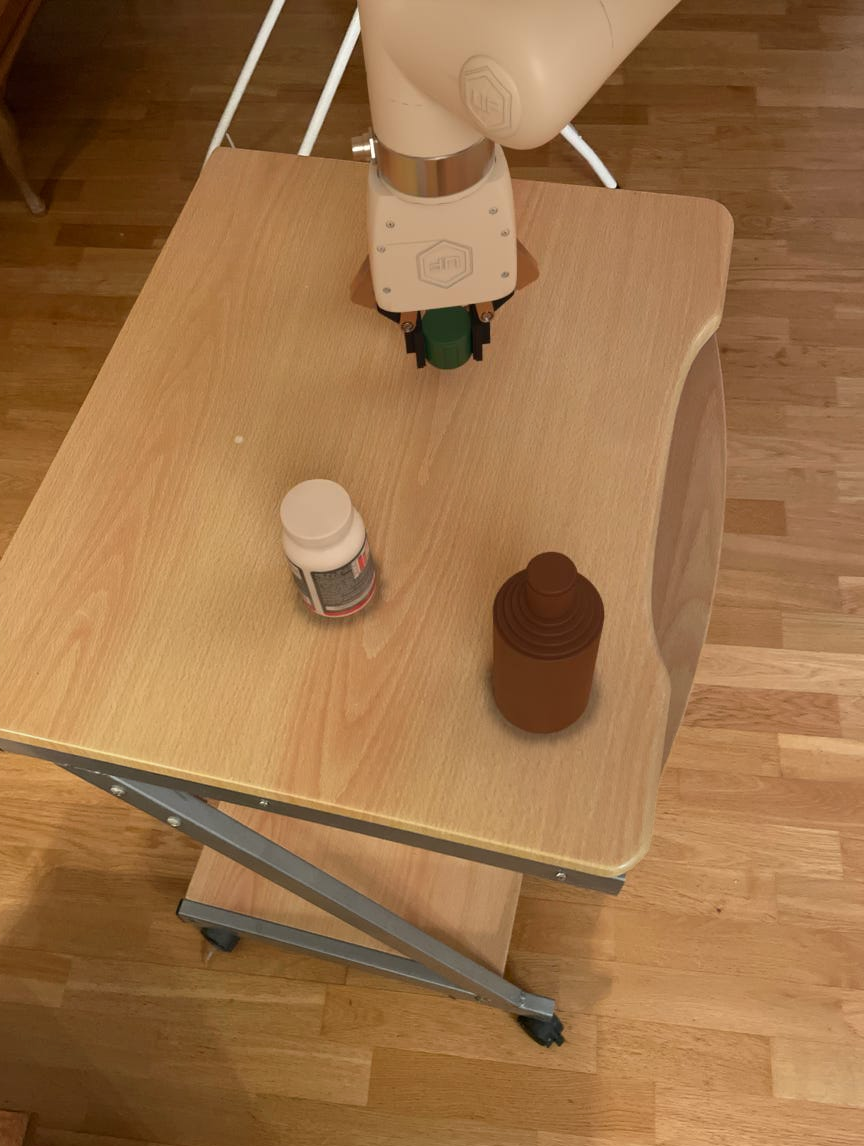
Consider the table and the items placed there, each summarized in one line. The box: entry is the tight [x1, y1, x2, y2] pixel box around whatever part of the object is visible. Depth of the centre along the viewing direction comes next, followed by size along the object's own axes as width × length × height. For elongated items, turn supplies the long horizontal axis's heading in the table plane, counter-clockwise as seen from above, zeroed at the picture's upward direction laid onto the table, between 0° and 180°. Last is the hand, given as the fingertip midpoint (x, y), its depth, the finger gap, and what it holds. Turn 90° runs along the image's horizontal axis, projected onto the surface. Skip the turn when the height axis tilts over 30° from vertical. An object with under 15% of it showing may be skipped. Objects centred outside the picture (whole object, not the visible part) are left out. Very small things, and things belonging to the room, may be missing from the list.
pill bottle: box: [279, 478, 377, 618], centre depth 68 cm, size 6×6×10 cm
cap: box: [422, 305, 473, 371], centre depth 77 cm, size 4×4×3 cm
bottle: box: [492, 551, 605, 735], centre depth 61 cm, size 6×6×16 cm
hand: (448, 349), depth 79 cm, fingers closed on cap, 3 cm apart
